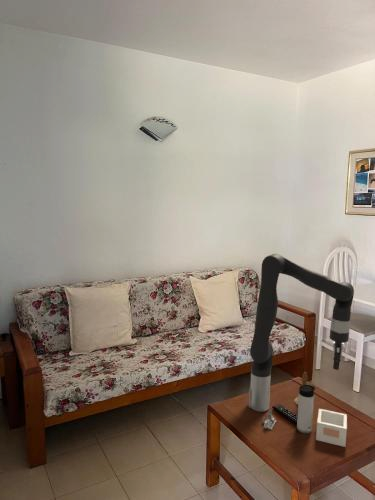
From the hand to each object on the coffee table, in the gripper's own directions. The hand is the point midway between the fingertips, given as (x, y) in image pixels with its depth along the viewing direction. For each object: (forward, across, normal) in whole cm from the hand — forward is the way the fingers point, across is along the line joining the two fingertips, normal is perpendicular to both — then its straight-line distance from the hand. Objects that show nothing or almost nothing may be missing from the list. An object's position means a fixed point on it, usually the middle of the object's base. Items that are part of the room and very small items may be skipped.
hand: (335, 365), depth 163 cm
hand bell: (+30, -18, -13) cm, 38 cm away
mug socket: (+30, +5, +1) cm, 30 cm away
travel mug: (+30, +5, -10) cm, 32 cm away
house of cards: (+31, +7, -27) cm, 42 cm away
